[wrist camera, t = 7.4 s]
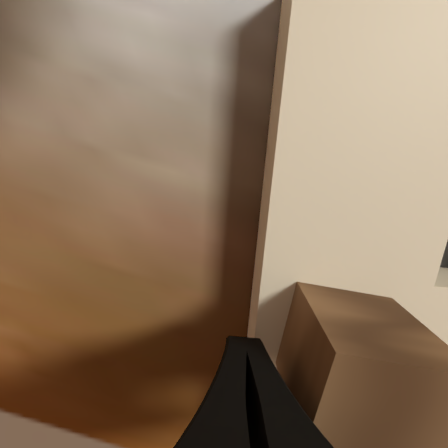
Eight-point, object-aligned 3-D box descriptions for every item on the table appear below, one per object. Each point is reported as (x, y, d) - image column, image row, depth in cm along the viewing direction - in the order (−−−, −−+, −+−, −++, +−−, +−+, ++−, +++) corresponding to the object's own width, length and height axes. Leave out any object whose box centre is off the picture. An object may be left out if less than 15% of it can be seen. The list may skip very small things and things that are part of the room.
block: (391, 297, 10) (487, 378, 7) (362, 376, 11) (430, 487, 8) (297, 281, 10) (336, 353, 7) (275, 362, 11) (298, 466, 7)
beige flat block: (586, 12, 10) (767, -64, 7) (433, 448, 16) (489, 529, 12) (282, -7, 10) (308, -92, 7) (237, 433, 16) (238, 508, 12)
